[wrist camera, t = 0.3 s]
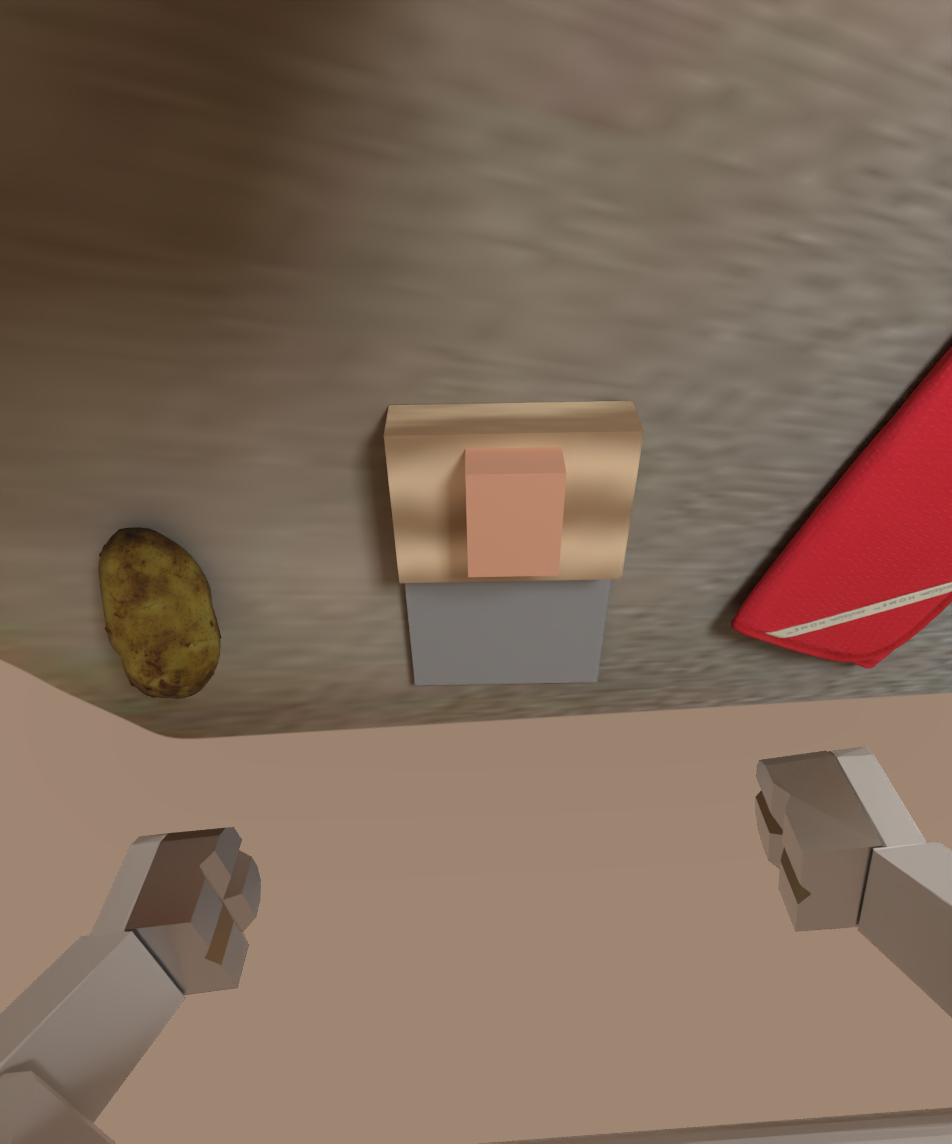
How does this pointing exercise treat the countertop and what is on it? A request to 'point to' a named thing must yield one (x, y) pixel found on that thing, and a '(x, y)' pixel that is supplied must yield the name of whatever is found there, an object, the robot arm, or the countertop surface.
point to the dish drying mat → (870, 544)
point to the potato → (158, 613)
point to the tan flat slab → (443, 431)
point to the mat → (507, 631)
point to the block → (514, 510)
